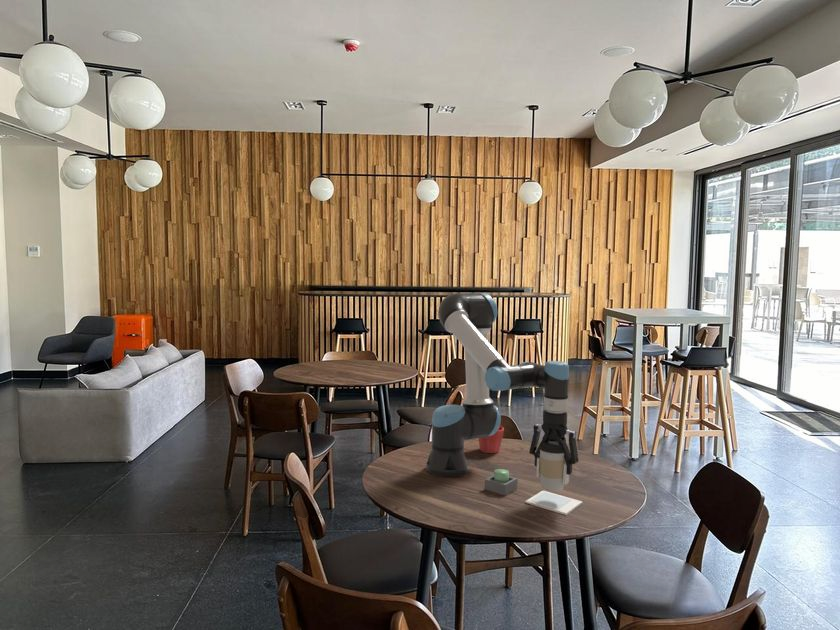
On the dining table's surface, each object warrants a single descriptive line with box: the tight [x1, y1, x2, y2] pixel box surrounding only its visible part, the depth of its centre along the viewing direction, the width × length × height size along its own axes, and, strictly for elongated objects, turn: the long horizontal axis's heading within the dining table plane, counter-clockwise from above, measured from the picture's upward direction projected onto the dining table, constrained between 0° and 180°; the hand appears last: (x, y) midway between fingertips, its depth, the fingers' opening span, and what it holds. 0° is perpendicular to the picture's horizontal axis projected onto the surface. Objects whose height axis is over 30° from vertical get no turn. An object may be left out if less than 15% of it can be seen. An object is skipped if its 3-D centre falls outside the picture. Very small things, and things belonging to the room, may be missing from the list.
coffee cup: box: [538, 439, 566, 492], centre depth 191 cm, size 9×9×15 cm
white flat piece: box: [524, 490, 583, 516], centre depth 192 cm, size 14×12×1 cm
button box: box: [484, 474, 519, 496], centre depth 202 cm, size 8×8×4 cm
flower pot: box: [477, 425, 505, 454], centre depth 243 cm, size 11×11×10 cm
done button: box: [493, 468, 510, 483], centre depth 202 cm, size 5×5×4 cm
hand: (552, 480), depth 191 cm, fingers closed on coffee cup, 8 cm apart
